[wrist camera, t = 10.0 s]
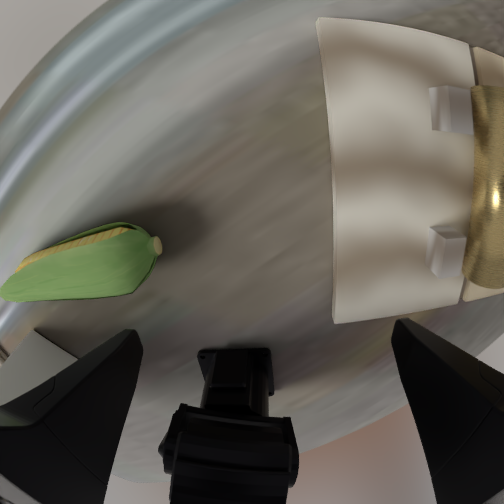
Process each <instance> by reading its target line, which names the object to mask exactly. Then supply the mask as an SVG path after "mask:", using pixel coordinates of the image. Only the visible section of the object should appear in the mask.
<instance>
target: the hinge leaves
mask: <svg viewBox="0 0 504 504" xmlns="http://www.w3.org/2000/svg"><path fill="white" fill-rule="evenodd" d="M315 24H316V30H317V36H318V42H319V48H320V55H321V62H322V69H323V77H324V85H325V94H326V103H327V113H328V124H329V137H330V151H331V167H332V189H333V234H334V252H333V297H332V318H333V321H334V324H340V323H348V322H356V321H363V320H370V319H377V318H384V317H390V316H396V315H402V314H408V313H414V312H419V311H425V310H430V309H435V308H440V307H445V306H450V305H454V304H458V300H459V299H463V300H464V301H465V302H468V301H472V300H476V299H481V298H485V297H489V296H493V295H497V294H500V293H504V288H501V289H488V288H484V287H481V286H478V285H476V284H474V283H472V282H471V281H469V280H468V279H467V278H466V277H465V276H464V275H463V273H462V264H463V259H464V254H465V248H466V242H467V236H468V229H469V222H470V214H471V204H472V192H473V176H474V124H473V108H472V97H471V87H472V86H477V85H488V86H497V87H503V88H504V57H501V56H499V55H497V54H494V53H492V52H489V51H487V50H484V49H482V48H479V47H474V48H472V47H469V45H468V43H465V42H462V41H458V40H455V39H452V38H449V37H445V36H442V35H438V34H434V33H430V32H426V31H422V30H418V29H413V28H408V27H403V26H398V25H392V24H386V23H379V22H372V21H364V20H354V19H342V18H322V17H318V19H317V21H316V23H315Z"/></svg>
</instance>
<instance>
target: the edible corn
mask: <svg viewBox="0 0 504 504" xmlns="http://www.w3.org/2000/svg"><path fill="white" fill-rule="evenodd" d="M161 253H162V244H161V240H160V239H159V238H158V237H157V236H155V237H151V236H150V235H149V233H147V232H146V231H145V230H144V229H142V228H141V227H140V226H136V225H133V224H129V223H124V222H117V223H111V224H106V225H103V226H100V227H97V228H94V229H91V230H88V231H85V232H83V233H80V234H78V235H76V236H73V237H71V238H68V239H66V240H63V241H61V242H59V243H57V244H55V245H53V246H50V247H48V248H46V249H44V250H42V251H38V252H35V253H33V254H32V255H30V256H28V257H26V258H24V260H23V261H22V262H21V264H20V265H19V266H18V268H17V270H16V271H15V274H13V275H12V276H10V278H9V279H8V280H7V281H6V282H5V283H4V284H3V286H2V287H1V289H0V296H1V297H2V298H3V299H4V300H5V301H14V302H31V301H42V300H83V299H99V298H107V297H115V296H121V295H126V294H131V293H133V292H134V291H135V290H136V289H137V288H138V287H139V286H140V285H141V284H142V283H143V282H144V281H145V280H146V279H147V278H148V277H149V276H150V274H151V272H152V270H153V268H154V266H155V262H156V259H157V257H158V255H160V254H161Z"/></svg>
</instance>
